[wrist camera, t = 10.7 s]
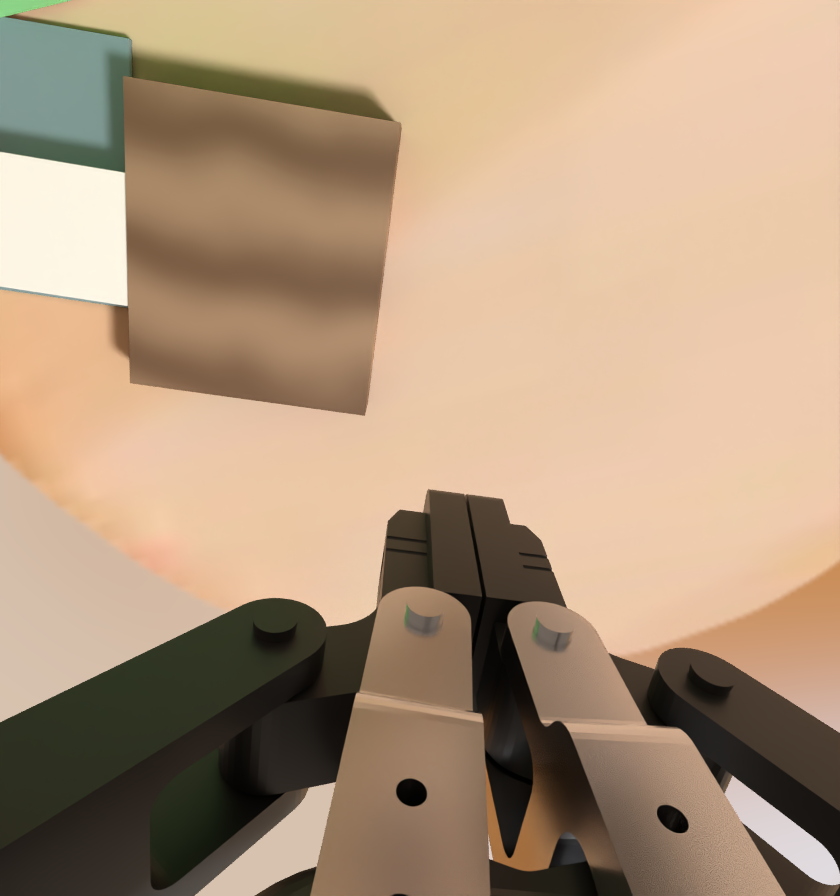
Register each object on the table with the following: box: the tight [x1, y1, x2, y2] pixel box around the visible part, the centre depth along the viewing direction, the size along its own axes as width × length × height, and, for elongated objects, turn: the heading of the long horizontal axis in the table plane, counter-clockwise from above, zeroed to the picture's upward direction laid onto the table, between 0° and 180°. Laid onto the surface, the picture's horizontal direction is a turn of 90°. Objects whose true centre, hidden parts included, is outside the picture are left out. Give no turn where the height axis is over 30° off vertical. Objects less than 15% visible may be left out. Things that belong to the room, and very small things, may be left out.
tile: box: [0, 151, 128, 306], centre depth 34 cm, size 7×10×2 cm
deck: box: [123, 76, 401, 416], centre depth 35 cm, size 16×14×2 cm
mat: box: [0, 17, 132, 308], centre depth 34 cm, size 14×11×1 cm
